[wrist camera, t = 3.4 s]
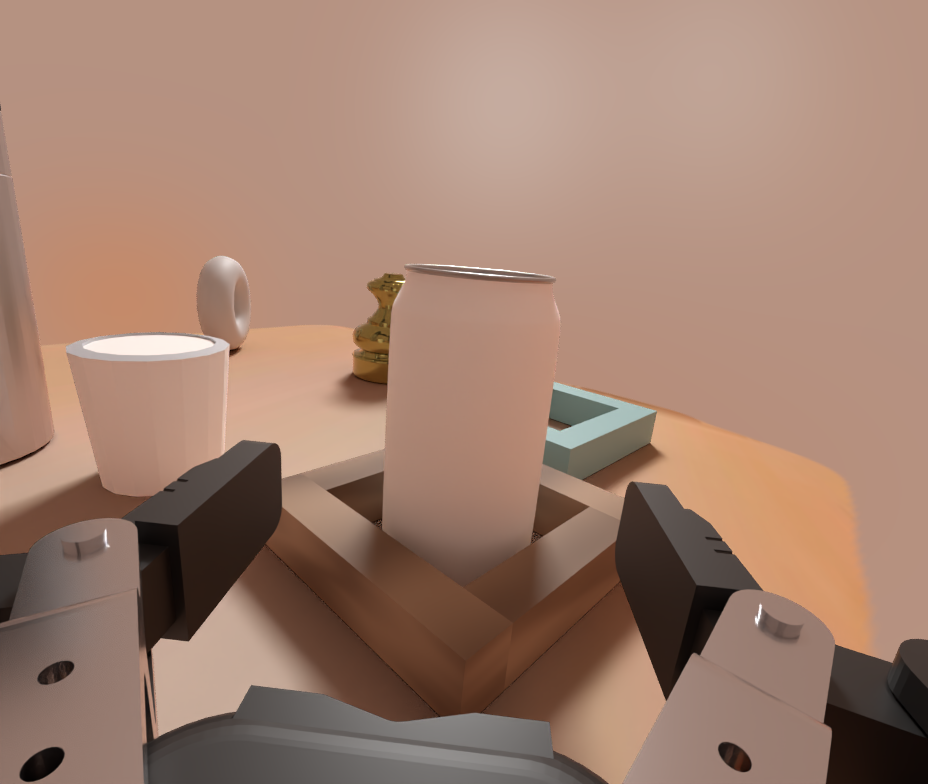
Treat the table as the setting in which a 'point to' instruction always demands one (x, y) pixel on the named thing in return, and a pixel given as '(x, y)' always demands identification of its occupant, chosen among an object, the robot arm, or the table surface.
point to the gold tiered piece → (376, 331)
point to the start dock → (448, 581)
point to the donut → (224, 301)
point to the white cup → (151, 405)
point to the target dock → (593, 431)
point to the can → (467, 413)
